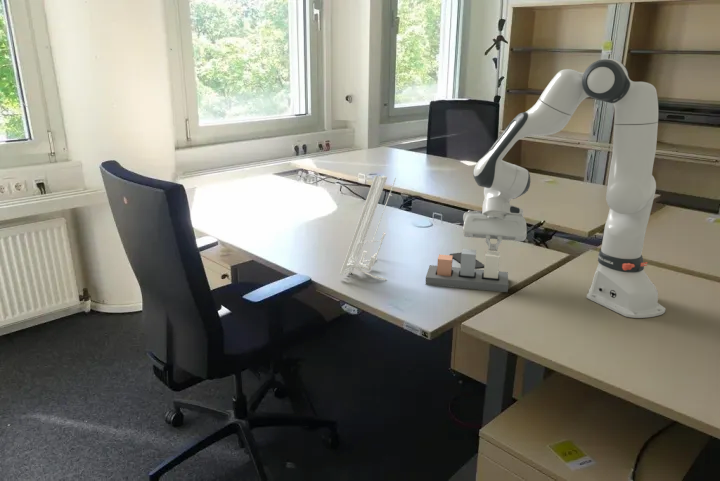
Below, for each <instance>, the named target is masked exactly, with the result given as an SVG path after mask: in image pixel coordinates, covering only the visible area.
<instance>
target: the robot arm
mask: <svg viewBox="0 0 720 481" xmlns="http://www.w3.org/2000/svg"><path fill="white" fill-rule="evenodd" d="M629 74H630V72H629V71H628V69H627V66H626V65H625V64H623V63H622V62H620V61H618V60H616V59H613V58H603V59H599V60H596V61H594V62H592V63H591V64H589V65H588V66H587V68H586V69H585V71H584V72H582V71H578V70H576V69H571V68H565V69H561V70H559V71H558V72H557V73H556V74H555V75H554V76H553V78H551V80H550V82H549V83H548V84H547V86H546V87H545V88H544V90H543V91H542V93H541V95H540V96H539V98H538V99H537V101H536V103H535V104H533V105H532V107H530V108H529V109H528V110H527V111H525V112H520V113H518V114H517V115H516V116H515V117H514V118H513V119H512V120H511V121H510V122H509V124H508V125H507V126H506V127H505V128H504V130H503V131H502V132H501V134H500V135H499V136H498V137H497V139H496V140H495V142H494V143H493V144H492V146H491V147H490V148H489V149H488V151H486V153H484V155H483V156H481V157H480V158H479V160H478V161H477V162H476V164H475V165H474V167H473V171H472V175H473V179H474V181H475V183H476V184H477V185H478V186H479V187H482V188H483V197H484V199H483V201H482V207H481V208H482V210H481V211H480V210H468V211H466V212H464V213H463V216H462V220H463V226H462V227H463V228H462V235H463V237H465V238H475V239H485V242H486V244H487V246H488V247H487V248H488V249H487V251H494V252H499V251H498V249H499V246H500V245H501V244H502V241H503V240H504V241H515V242H516V241H517V242H524V241H525V240H526V239H527V235H528V234H527V233H528V232H527V231H528V230H527V221H526V219H525V217H524V209H523V208H521V207H517V206H515V205H512V204H511V203H510V201H511V200H514V199H517V198H519V197H522V196H523V195H524V194H526V193H527V192H528V191H529V189H530V186H531V174H530V172H529V170H528V169H526V168H525V167H522V166H519V165H517V164H513V163H511V162H507V161H505V160H503V159H504V158H505V156H506V155H507V153H508V152H509V151H510V150H511V149H512V148H513V147H514V146H515V144H516V143H517V142H518V141H519V140H521V139H523V138H526V137H534V136H538V137H539V136H544V137H545V136H551V135H555V134H557V133H559V132H561V131H562V130H563V129H564V128H566V126H567V125H568V124H569V122H570V120H571V119H572V117H573V115H574V113H575V112H576V110H577V108H578V107H579V105H581V103H582V102H583V101H584V100H585V99H588V98H591V99H594V100H596V101H601V102H604V103H605V102H606V103H609V104H612V105H613V108H614V119H613V122H614V123H613V135H612V136H613V139H612V153H611V158H610V164H609V170H608V171H609V172H608V178H607V186H606V187H607V188H606V193H605V200H606V203H607V204H606V205H607V206H608V208H609V211H608V215H607V217H606V218H607V219H606V221H605V223H604V228H603V229H604V230H603V237H602V242H601V248H600V249H599V251H598V255H597V256H598V257H597V262H598V265H597V267H596V269H595V272H594V275H593V278H592V282H591V285H590V288H589V289H588V293H587V294H586V299H588V300H590V301H592V302H595V303H597V304H598V305H601V306H602V307H604V308H607V309H609V310H611V311H613V312H615V313H617V314H620V315H622V316H624V317H626V318H635V319H642V318H643V319H644V318H645V319H646V318H653V317H658V316H661V315H663V314H664V313H666V307H664V306H663V305H661V303H659V302H658V300H659V293H658V292H659V291H658V289H657V288H656V285H655V283H653V282H652V280H651V279H650V277H649V276H648V274H647V273H646V271H645V267H647V266H648V262H646V261H645V262H644V259H643V258H644V257H643V255H642V252H643V248H644V243H645V236H646V231H647V228H648V225H649V220H650V216H651V212H652V208H653V205H654V204H653V203H654V199H655V195H656V190H657V181H656V179H655V177H654V175H653V169H654V168H653V167H654V162H655V157H656V154H657V152H656V151H657V141H658V140H657V138H658V127H659V126H658V125H659V99H658V94H657V93H658V92H657V89H656V87H655V86H654V84H651V83H650V82H646V81H633V80H631V79H630V75H629ZM491 240H497V241H496V243H491Z"/></svg>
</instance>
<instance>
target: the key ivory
mask: <svg viewBox="0 0 720 481" xmlns="http://www.w3.org/2000/svg"><path fill="white" fill-rule="evenodd" d="M500 258H501V251H491V250H485V254H484V265H485V266H484V268H483V270H484V277H486V278H497V279H498V273H499V270H500V262H501V261H500V260H501V259H500Z"/></svg>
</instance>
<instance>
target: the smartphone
mask: <svg viewBox="0 0 720 481" xmlns="http://www.w3.org/2000/svg"><path fill="white" fill-rule="evenodd" d="M461 253H462V251H461V252H455V253H454V252H453V253H450V254H449V255H451V256H453V260H454V261H455V262H457V263H459V264H460V265H461ZM484 266H485V263H484V264H483V263H482V262H481V261H479V260H478V259H476V260H475V269H484Z"/></svg>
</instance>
